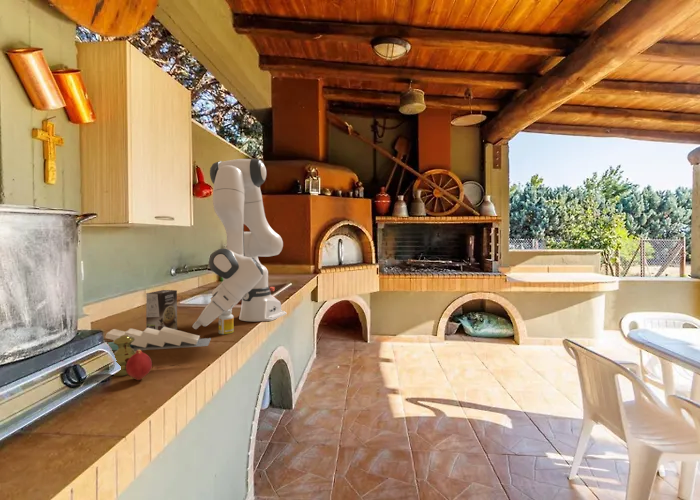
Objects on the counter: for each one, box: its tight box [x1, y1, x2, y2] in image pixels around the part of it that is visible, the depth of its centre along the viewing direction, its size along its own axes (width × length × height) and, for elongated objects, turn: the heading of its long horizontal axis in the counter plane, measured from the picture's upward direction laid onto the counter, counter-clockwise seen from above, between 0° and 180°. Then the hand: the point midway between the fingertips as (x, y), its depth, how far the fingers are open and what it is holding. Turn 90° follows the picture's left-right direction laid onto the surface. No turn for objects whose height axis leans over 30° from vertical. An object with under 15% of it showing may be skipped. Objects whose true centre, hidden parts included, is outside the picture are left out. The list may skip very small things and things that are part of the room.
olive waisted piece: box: [112, 335, 136, 377], centre depth 97 cm, size 7×7×10 cm
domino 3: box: [124, 327, 166, 347], centre depth 116 cm, size 2×5×12 cm
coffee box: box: [145, 289, 178, 330], centre depth 133 cm, size 9×6×16 cm
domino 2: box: [107, 341, 133, 351], centre depth 114 cm, size 2×5×12 cm
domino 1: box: [104, 328, 149, 348], centre depth 115 cm, size 2×5×12 cm
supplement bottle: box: [218, 308, 235, 335], centre depth 133 cm, size 5×5×10 cm
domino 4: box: [141, 328, 182, 346], centre depth 118 cm, size 2×5×12 cm
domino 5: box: [158, 327, 201, 345], centre depth 119 cm, size 2×5×12 cm
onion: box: [126, 350, 153, 381], centre depth 92 cm, size 6×6×8 cm
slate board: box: [131, 337, 212, 351], centre depth 118 cm, size 25×9×1 cm, turn 105°
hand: (194, 327), depth 120 cm, fingers closed
